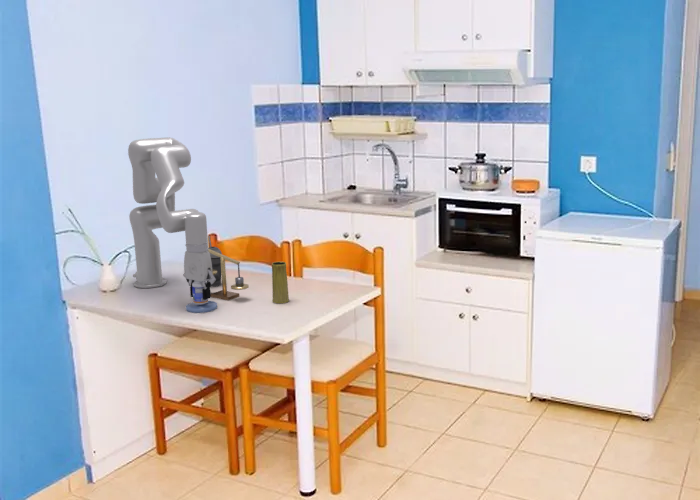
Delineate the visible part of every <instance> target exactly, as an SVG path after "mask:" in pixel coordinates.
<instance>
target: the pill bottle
mask: <svg viewBox="0 0 700 500" xmlns="http://www.w3.org/2000/svg"><path fill="white" fill-rule="evenodd" d="M205 282H206V284H207V281H205ZM203 289H204V287H203V284H202V282H200V281H195V280H194V282H193V283H192V292H193V297H192V302H193V303H194V304H206V303H208V301H209V299H206V300H203V291H202V290H203Z"/></svg>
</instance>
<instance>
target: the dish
mask: <svg viewBox="0 0 700 500" xmlns="http://www.w3.org/2000/svg"><path fill="white" fill-rule="evenodd" d="M217 309H218V303H217V302H216V301H213V300H208V303H206V304H194V303H193V301H192V302H190V303H187V304H186V305H185V311H186V312H187V313H191V314H192V313H193V314H202V313H203V314H204V313H209V312H213V311H215V310H217Z"/></svg>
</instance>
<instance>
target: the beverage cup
mask: <svg viewBox="0 0 700 500" xmlns="http://www.w3.org/2000/svg"><path fill="white" fill-rule="evenodd" d="M207 236H208V243H209V246H208V249H211V250H213V251H215V252H218V253H220V254H222V255H223V253H222V251H221V250H220V248H219V247H216V246H212V243H211V242H212V241H211V236H210V235H207ZM210 257H211V262H212V269H214V270H217V273H216V274H213V276H214V277H215V279H216V281H215V282H214V283H213V284H212V286H211V287H210V288H217V287H221V286H222V275H221V259H220V257H218V256H216V255H214V254H211V253H210ZM216 286H217V287H216Z"/></svg>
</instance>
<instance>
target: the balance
mask: <svg viewBox="0 0 700 500" xmlns="http://www.w3.org/2000/svg"><path fill="white" fill-rule="evenodd" d="M208 252H209V253H211V254H214V255H216V256H218V257H220V259H221V286H222V287H221V289H222V290H218V291H215V292H213V293H212V292H211V298H214V299H219V300H224V301H231V300H234V299H237V298H239V297H240V293H239V292H234V291H235V290H236V291H240V290H246V289H247V290H248V288H249V284H247V283H245V282H244V277H243V276H241V275H240V274H241V273H240V272H241V271H240V261H238V260H236V259H234V258H231V257H229V256H228V255H224V254H223V253H222V254H220V253H218V252H215V251H213V250H211V249H208ZM226 261H227V262H230V263H232V264H234V265H237V273H238V274H237V275H238V276H236V277H235V278H234V280H235V281H234V282H235V283H234V284H232V285H230V289H231V290H233V292H232V291H230V290H229V291H228V287H227V284H228V283H227V272H226V271H227V270H226ZM212 271H213V274H216V273H217V270H214V269H212Z"/></svg>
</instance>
